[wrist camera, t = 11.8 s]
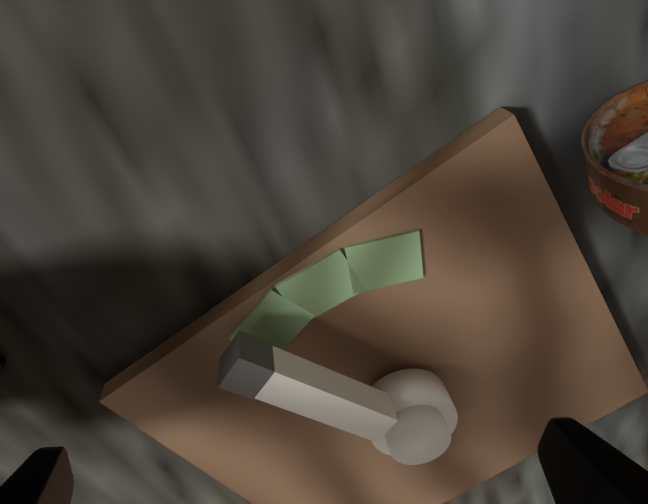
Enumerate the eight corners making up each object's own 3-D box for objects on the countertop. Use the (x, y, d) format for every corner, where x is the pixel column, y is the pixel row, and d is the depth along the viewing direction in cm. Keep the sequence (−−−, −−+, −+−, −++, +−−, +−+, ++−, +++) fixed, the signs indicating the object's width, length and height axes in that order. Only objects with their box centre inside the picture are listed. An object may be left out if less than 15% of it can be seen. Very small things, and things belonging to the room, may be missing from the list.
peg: (462, 386, 26) (484, 428, 23) (410, 439, 27) (426, 484, 25) (255, 292, 21) (256, 333, 19) (206, 362, 23) (201, 409, 20)
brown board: (334, 542, 34) (338, 563, 33) (104, 383, 24) (97, 405, 23) (634, 376, 30) (651, 394, 29) (500, 106, 20) (516, 115, 19)
